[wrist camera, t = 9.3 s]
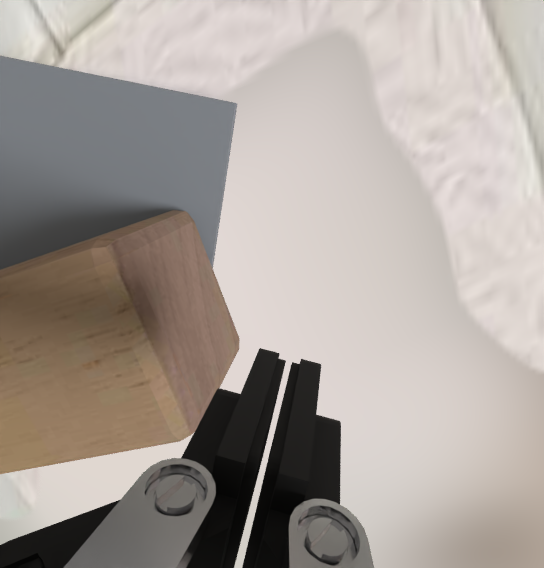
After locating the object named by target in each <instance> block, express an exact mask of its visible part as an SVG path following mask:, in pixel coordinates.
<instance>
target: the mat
mask: <svg viewBox="0 0 544 568" xmlns="http://www.w3.org/2000/svg"><path fill="white" fill-rule="evenodd" d="M236 108H237V104H236V103H233V102H228V101H223V100H218V99H213V98H208V97H203V96H198V95H193V94H188V93H183V92H178V91H173V90H168V89H163V88H158V87H153V86H148V85H143V84H138V83H133V82H128V81H123V80H118V79H113V78H108V77H103V76H98V75H93V74H88V73H83V72H78V71H73V70H68V69H63V68H58V67H53V66H48V65H44V64H39V63H34V62H29V61H24V60H19V59H14V58H9V57H4V56H0V270H1V269H4V268H7V267H9V266H12V265H15V264H18V263H21V262H24V261H27V260H30V259H33V258H36V257H38V256H41V255H44V254H47V253H50V252H53V251H56V250H59V249H62V248H65V247H67V246H70V245H73V244H76V243H79V242H82V241H85V240H88V239H91V238H94V237H96V236H99V235H102V234H105V233H108V232H111V231H114V230H117V229H120V228H123V227H126V226H128V225H131V224H134V223H137V222H140V221H143V220H146V219H149V218H152V217H155V216H157V215H160V214H163V213H166V212H169V211H172V210H178V211H186V212H188V214H189V215H190V216H191V217H192V219H193V220H194V222H195V225H196V227H197V230H198V232H199V235H200V238H201V240H202V243H203V245H204V248H205V251H206V253H207V256H208V258H209V261H210V264H211V266H212V269H213V262H214V255H215V249H216V242H217V235H218V228H219V222H220V215H221V209H222V202H223V195H224V189H225V182H226V175H227V169H228V162H229V155H230V148H231V141H232V135H233V128H234V122H235V115H236Z"/></svg>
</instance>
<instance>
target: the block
mask: <svg viewBox="0 0 544 568" xmlns="http://www.w3.org/2000/svg"><path fill="white" fill-rule="evenodd" d="M238 350H239V336H238V334H237V331H236V329H235V326H234V324H233V321H232V318H231V316H230V313H229V311H228V308H227V305H226V303H225V300H224V297H223V295H222V292H221V290H220V287H219V285H218V282H217V279H216V277H215V274H214V272H213V269H212V266H211V264H210V261H209V258H208V256H207V253H206V251H205V248H204V245H203V243H202V240H201V238H200V235H199V232H198V230H197V227H196V225H195V222H194V220H193V219H192V217H191V216H190V215H189V214H188V212H186V211H178V210H172V211H169V212H166V213H163V214H160V215H157V216H155V217H152V218H149V219H146V220H143V221H140V222H137V223H134V224H131V225H128V226H126V227H123V228H120V229H117V230H114V231H111V232H108V233H105V234H102V235H99V236H96V237H94V238H91V239H88V240H85V241H82V242H79V243H76V244H73V245H70V246H67V247H65V248H62V249H59V250H56V251H53V252H50V253H47V254H44V255H41V256H38V257H36V258H33V259H30V260H27V261H24V262H21V263H18V264H15V265H12V266H9V267H7V268H4V269H1V270H0V474H4V473H9V472H14V471H20V470H25V469H31V468H36V467H42V466H47V465H53V464H58V463H64V462H69V461H75V460H80V459H86V458H91V457H96V456H102V455H107V454H113V453H118V452H123V451H129V450H134V449H140V448H145V447H151V446H157V445H162V444H167V443H173V442H178V441H181V440H183V439H184V438H186V437H188V436H190V435H191V434H193V433H194V432H195V431H196V429H197V427H198V425H199V423H200V421H201V419H202V417H203V415H204V413H205V411H206V409H207V407H208V406H209V404H210V402H211V400H212V398H213V396H214V394H215V392H216V390H217V389H218V388H219V387H220V385H221V384H222V382H223V380H224V378H225V375H226V374H227V372H228V370H229V368H230V366H231V364H232V362H233V360H234V358H235V356H236V354H237V352H238Z"/></svg>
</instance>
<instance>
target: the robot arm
mask: <svg viewBox="0 0 544 568" xmlns="http://www.w3.org/2000/svg"><path fill="white" fill-rule="evenodd" d="M278 357H279V353H276V352H272V351H268V350H264V349H261V348H260V349H259V351H258V353H257V356H256V358H255V361H254V363H253V366H252V368H251V371H250V373H249V375H248V378H247V380H246V383H245V385H244V388H243V390H242V392H241V394H238V393H234V392H231V391H227V390H223V389H219V388H218V389H217V390H216V392H215V394H214V396H213V398H212V400H211V402H210V404H209V406H208V407H207V409H206V411H205V413H204V415H203V417H202V419H201V421H200V423H199V425H198V427H197V429H196V431H195V433H194V435H193V436H192V438H191V441H190V442H189V444H188V446H187V448H186V450H185V452H184V454H183V456H182V458H172V459H167V460H163V461H160V462H158V463H156V464H154V465H152V466H151V467H150V468H148V469H147V470H146V471H145V472H144V473H143V474H142V475H141V476H140V477H139V479H138V480H137V481H136V482H135V483H134V485H133V486H132V487H131V488H130V489H129V490H128V492H127V493H126V494H125V495H124V497H123V498H122V499H121V500H118V501H116V502H113V503H110V504H108V505H105V506H102V507H100V508H97V509H94V510H92V511H89V512H86V513H83V514H81V515H78V516H76V517H73V518H70V519H67V520H64V521H62V522H59V523H56V524H54V525H51V526H48V527H45V528H43V529H40V530H37V531H35V532H32V533H29V534H27V535H24V536H21V537H18V538H16V539H13V540H10V541H8V542H6V543H4V544H2V545H0V568H234V565H235V561H236V557H237V554H238V550H239V546H240V542H241V538H242V534H243V530H244V526H245V523H246V519H247V515H248V511H249V507H250V504H251V500H252V496H253V492H254V488H255V484H256V480H257V476H258V473H259V469H260V465H261V461H262V457H263V453H264V449H265V445H266V441H267V437H268V433H269V429H270V425H271V420H272V416H273V412H274V408H275V404H276V399H277V395H278V391H279V387H280V382H281V378H282V374H283V370H284V366H285V362H286V361H285V360H281V359H278ZM320 371H321V364H318V363H315V362H311V361H307V360H303V359H301V362H300V364H297V363H292V365H291V369H290V373H289V377H288V381H287V385H286V390H285V393H284V398H283V401H282V405H281V409H280V414H279V418H278V422H277V426H276V430H275V434H274V439H273V442H272V446H271V450H270V454H269V459H268V463H267V467H266V471H265V475H264V480H263V484H262V488H261V492H260V496H259V500H258V504H257V509H256V513H255V517H254V521H253V525H252V530H251V534H250V538H249V542H248V547H247V550H246V555H245V559H244V563H243V568H374V566H373V561H372V556H371V551H370V547H369V542H368V538H367V536H366V533H365V530H364V528H363V526H362V525H361V523H360V522H359V520H358V519H357V518H356V517H355V516H354V515H353V514H352V513H351V512H350V511H349V510H348V509H347V508H345V507H343V506H341V505H340V446H341V445H340V444H341V443H340V442H341V423H340V421H337V420H334V419H330V418H326V417H322V416H319V415H316V410H317V400H318V390H319V381H320Z"/></svg>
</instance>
